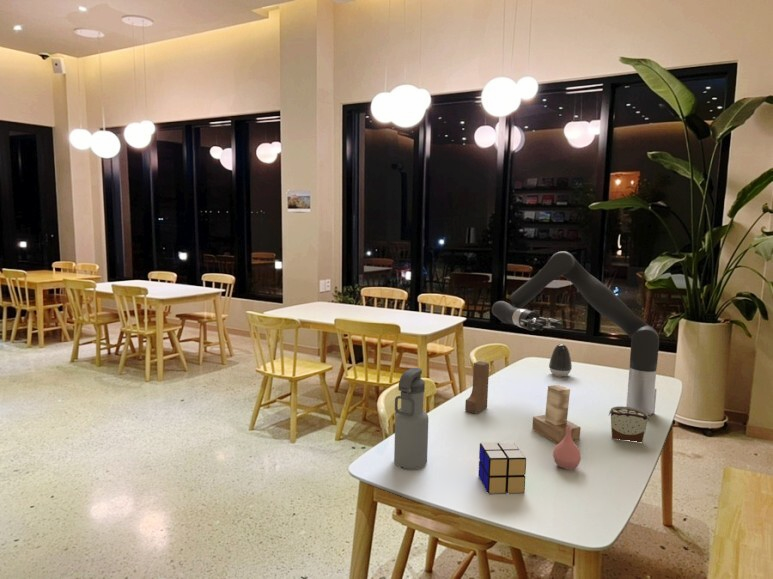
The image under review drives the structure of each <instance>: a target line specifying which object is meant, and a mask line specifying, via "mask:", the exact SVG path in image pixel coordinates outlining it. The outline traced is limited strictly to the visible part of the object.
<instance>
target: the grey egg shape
mask: <svg viewBox="0 0 773 579" xmlns="http://www.w3.org/2000/svg"><path fill="white" fill-rule="evenodd" d="M548 368H549V370H550V373H551V374H553V375H554V376H556V377H561V378H562V377H567V376H568V375H570V373H571V370H572V368H573V367H572V358H571V355H570V351H569V349H568V347H567V345H565V344H562V343H558V344H557V345H556V346H555V347H554V349H553V351H552V353H551V356H550V359H549V364H548Z"/></svg>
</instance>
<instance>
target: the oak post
mask: <svg viewBox="0 0 773 579" xmlns="http://www.w3.org/2000/svg"><path fill="white" fill-rule="evenodd" d="M570 394H571V389H570V388H567V387H565V386H564V385H561V384H554V385H548V386H547V392H546V395H547V396H546V405H545V413H544V415H545V420H546V421H548V422H550V423H552V424H554V425H561V424H567V421H568V413H569V406H570Z"/></svg>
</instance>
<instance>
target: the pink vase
mask: <svg viewBox="0 0 773 579" xmlns="http://www.w3.org/2000/svg"><path fill="white" fill-rule="evenodd" d="M552 456H553V460H554V463H555V465H557V466H558V467H561V468H562V469H565V470H570V469H575V468H578V466H579V465H580V462H581V459H582V456H581V450H580V449H579V448H578V446H577V445H576V444H575V441H574V442H573V440H572V437H571V428H569V427H567V428H566V436H565V437H564V438H563V440H562V441H561V442H560V443H559V444H557V443H556V445H555V446H554V449H553V453H552Z"/></svg>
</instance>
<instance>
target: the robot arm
mask: <svg viewBox="0 0 773 579" xmlns="http://www.w3.org/2000/svg"><path fill="white" fill-rule="evenodd" d="M561 276H563V278H566V279H567V281H568V282H570V283H572V285H573V286H574V287H575V288H576V289H577V291H579V293H580V294H581V296H582V297H583V298H584V299H585V300H586V302H587V303H588V304H589V305H590V306H591V307H592V308H594V310H595V311H597V312H598V313H599V314H600V315H601V316H602V317H604V318H606V319H607V320H609V321H611V322H612V323H614V324H615V325H616V326H618V327H619V328H620V329H621V330H623V332H624V333H625V334H626V335H627V336H628V337H629V338H630V339H631V340H630V354H629V355H630V356H629V367H628V368H629V369H628V384H627V392H626V394H627V395H626V406H625V407H631V408H636V409H639V410H642V411H644V412H646V413H647V414H648V415H650V416H652V415H653V414H655V413H656V411H655V410H656V401H657V388H656V377H657V368H658V359H659V349H660V348H659V347H660V336H659V333H658V331H657V330H656V329H654V328H653V327H652V326H651V325H649V324H648V323H646V322H645V321H643V319H641V318H640V317H638V316H637V315H635V313H634V312H633V311H632V310H631V309H630V308H629V307H628V306H627V305H626V304H625V302H624V301H623V300H621V299H620V298H619V297H618V296H617V295H616V294H615V293H614V292H613V291H612V290H611V289H610V288H609V287H607V285H605V284H604V283H602V281H600V280H599V279H598V278H596V277H595V276H593V275H592V274H590V273H589V272H588V271H587V269H585V268H584V267H583V266H582V265H581V263H579V261H578V260H577V258H575V256H574V255H573V254H572V253H570V252H569V251H566V250H564V251H558V252H555V253H553V255H552V256H551V257H550V259H549V260H548V261H547V262H546V264H544V266H543V267H542V268H541V269H540V270H539V271H538V272H537V273H536V274H535V275H534V276H532V277H531V278H530V279H528V280H527V281H526V282H525V283H523V284H522V285H521V286H520V287H519V288H517V289H516V290H515V291H514V292H513V293H512V294H510V297H509V299H510V301H511V302H512V304H511V303H508V302H506V301H504V300H498V301H496V302H494V303H493V305H492V306H491V313H492V315H493V316H495V317H496V318H497V319H498V320H499V321H501V322H502V323H504V324H512V325H514V326H517V327H519V328H522V329H525V330H528V331H531V332H532V331H536V330H539V331H543V330H544V328H545V329H546V328H547V329H551V328H554V329H558V330H563V328H564V327H563V326H564V324H563V323H562V322H561V320H559V319H554V318H552V317H548V318H545V317H543V316H541V315H540V314H539V312H537V311H534V310H532V309H531V310H530V309H526V308H524V307H525V306H526V305H528V303H530V302H531V301H532V300H533V299H534V298H536V297H537V296H538V295H539V294H540V293H541V292H542V291H544V289H545V288H547V286H548V285H549V284H551V283H552V282H553V281H555V280H557V279H558V278H560V277H561ZM654 412H655V413H654ZM652 413H653V414H652ZM651 414H652V415H651Z"/></svg>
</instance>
